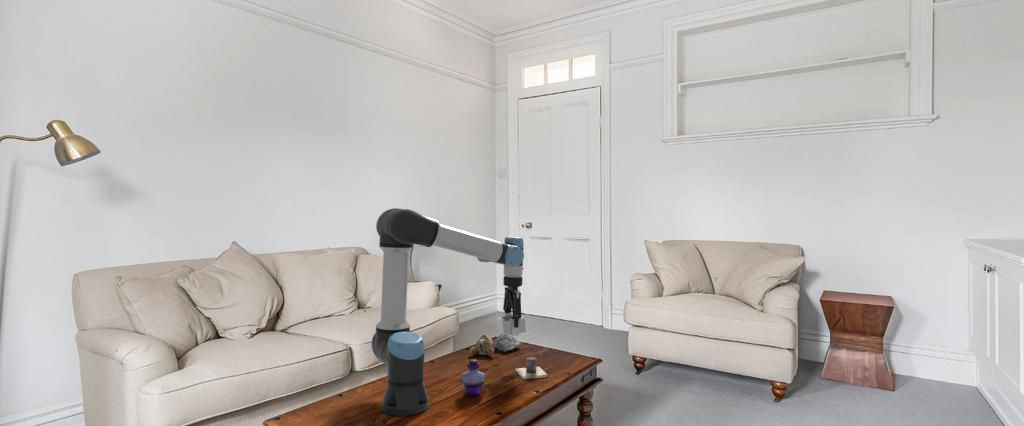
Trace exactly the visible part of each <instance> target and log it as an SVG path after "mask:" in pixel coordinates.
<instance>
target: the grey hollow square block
mask: <svg viewBox="0 0 1024 426" xmlns="http://www.w3.org/2000/svg"><path fill="white" fill-rule="evenodd" d="M512 317H513V314H512V315H508V316H505V315H502V316H497V317H496V325H497V331H498V333H500V334H502V335H504V336H505V335H508V336H512V319H511V318H512ZM526 332H527V329H526V319H525V317H524V316H522V317H521V318H520V319H519V334H521V333H526Z"/></svg>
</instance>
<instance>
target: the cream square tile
mask: <svg viewBox="0 0 1024 426" xmlns="http://www.w3.org/2000/svg"><path fill="white" fill-rule="evenodd" d="M537 360H538V359H537V358H536V357H534V356H533V357H532V356H531V357H526V361H525V362H526V366H525V367H521V368H520V367H518V368H515V373H517V374H518V375H519V377H520V378H521V379H522V380H530V379H542V378H548V376H549V375H548V374H547V373H546V371H544V370H543V369H542V368H541V367H540V366H537V363H538V362H537Z"/></svg>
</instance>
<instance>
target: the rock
mask: <svg viewBox="0 0 1024 426" xmlns="http://www.w3.org/2000/svg"><path fill="white" fill-rule="evenodd" d="M493 343H494V346H493V348H494V347H495V348H496V349H497V350H499V351H502V352H507V351H511V350H513V349H515V348H516V347H518V346H520V345H521V344H522V343H521V341H520V340H518V339H517V338H515V337H514V336H512V335H505V336H504V335H502V334H501V333H500V334H499V335H498V336H497V337H496V339H495V340H494V341H493Z"/></svg>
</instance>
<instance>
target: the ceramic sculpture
mask: <svg viewBox="0 0 1024 426" xmlns="http://www.w3.org/2000/svg"><path fill="white" fill-rule="evenodd" d="M469 350H470V351H469V355H472V356H475V355H477V354H478V355H480V356H491V357H492V356H493V355H494V353H495V348H494V341H493V338H491V336H490V335H489V334H488V333H486V334H484V335H481V336H480V337H479V339H477V341H476V342H475V345H474V346H471V348H470V349H469Z"/></svg>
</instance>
